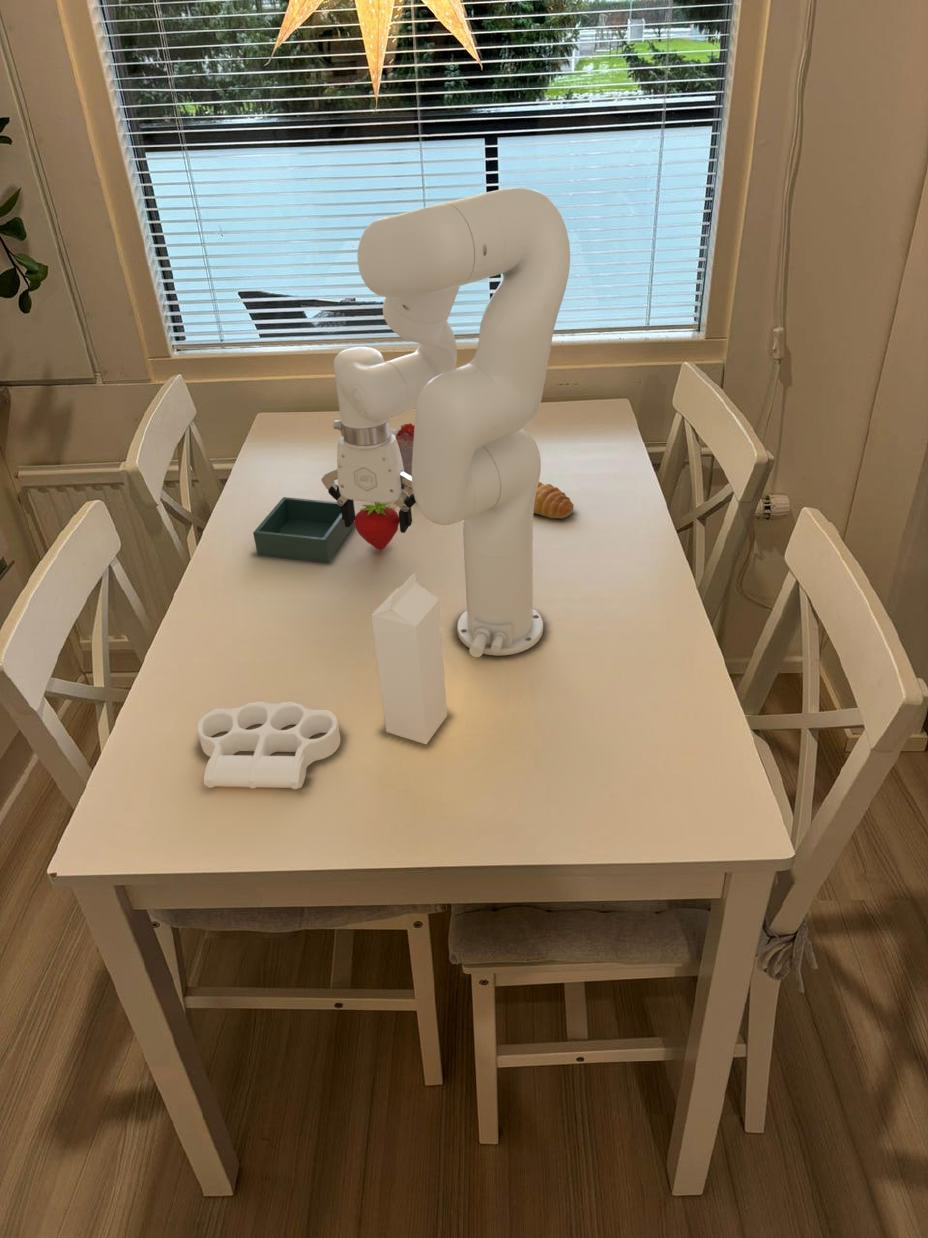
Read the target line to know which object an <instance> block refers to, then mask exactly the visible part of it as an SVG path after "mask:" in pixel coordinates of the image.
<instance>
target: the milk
mask: <svg viewBox="0 0 928 1238" xmlns="http://www.w3.org/2000/svg"><path fill="white" fill-rule="evenodd" d="M371 623H372V624H371V625H372V631H373V638H374V646H375V653H376V661H377V662H376V663H377V669H378V670H377V671H378V678H379V684H380V693H381V700H382V709H383V717H384V718H383V719H384V726H385V731H386V733H387V734H391V735H394V736H397V737H401V738H404V739H406V740H411V741H413V742H416V743H420V744H422V745H428V743H429V742H430V740H431V739H433V736H434V735H435V734H436V732H437V731H438V730H439V729H440V727H441V726H442V725H443V723H444V721H445V720H446V719H447V717H448V708H447V707H448V705H447V694H446V692H447V691H446V679H445V666H444V665H445V664H444V653H443V641H442V640H443V639H442V627H441V612H440V600H439V598H438V597H436V595H434V594H432V592H430V591H429V590H427V589H426V588H424V587H423V586H422V585H420V584H419V583H418V582H417V574H416V573H415V572H413V573H412V574H411V575H410V576H409V577H408V579H407V580H406V581H405V582H404V583H402V585H401V586H400V587H397V588H395V589H394V591H392V592H391V593H390V594H389V596H387V598H386V599H385V600H384V601H383V602H382V603H381V604H379V606H378V607H377V608H376V610H374V612H373V613H372V614H371Z"/></svg>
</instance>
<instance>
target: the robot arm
mask: <svg viewBox="0 0 928 1238" xmlns="http://www.w3.org/2000/svg"><path fill="white" fill-rule="evenodd" d="M358 241H359V242H358V247H357V254H356V256H357V257H356V258H357V265H358V266H357V267H358V271H359V274H360V277H361V279H362V281H363V283H364V284H365V287H367V288H368V290H369V291H371V292H372V293H373V294H375V295H377V296H379V297H383V298H384V300H383V304H382V315H383V318H384V321H385V323H386V324H387V326H388V327H389V328H390V330H392V331H393V333H395V334H396V335H397V336H399V337H400V338H402V339H403V340H406V341H409V342H413V343H417V344H418V346H417V348H416V350H415V351H414V352H412V353H409V354H405V355H403V356H400V357H396V358H394V359H390V360H387V361H385V359H384V356H383V354H382V353H381V352H380V351H379V350H377V349H376V348H373V347H369V346H368V347H367V346H355V347H350V348H346V349H343V350H341V351H339V352H338V353H337V354H336V355H335V357H334V360H333V372H334V380H335V387H336V394H337V402H338V409H339V410H338V411H339V417H340V419H339V420H334V421H333V430H338V431H340V434H341V436H340V437H339V438H338V439H337V450H336V451H337V453H336V469H334V470H332V471H330V472H328V473H325V474H324V475H323V476H322V478H321V482H322V484H323V485H324V487H325V489H327V492H328V494H329V495H330V496H331V497H332V498H333V499H334V500H335V501H336V502H337V504H338V505H340V506H341V513H342V519H343V520H344V522H345V527H350V526H351V525H352V523H353V522H354V521H355V516H356V511H355V503H354V501H359V502H368V503H369V502H370V503H375V502H380V503H389V504H394V503H395V505H397V506H398V508H399V510H398V516H399V532H401V533H402V534H405V533H406V532H407V530H408V528H409V527H411V526H412V524H413V514H412V507H413V506H414V505H415V504H416V506H417V507H418V509H419V511H420V512H421V514H422V515H423V517H425V518H426V519H427V520H428V521H430V522H431V523H433V524H436V525H440V526H449V525H454V524H458V523H460V522H463V528H462V536H463V537H462V539H463V540H462V541H463V558H464V561H463V562H464V574H465V575H464V579H465V595H466V597H465V599H466V610H465V611H464V612H463V613H462V614H461V615H460V616H459V618H458V620H457V625H456V630H457V635H458V638H459V640H460V641H461V643H462V644H463V645H465V646H466V647H467V648H468V649H469V650H468V651H469V654H470V656H472V657H474V658H481V657H482V656H483V655H486V656H487V655H488V656H510V655H511V656H512V655H515V654H519V653H522V652H525V651H527V650H529V649H530V648H532V647H534V646H535V645H536V644H537V643H538V642H539V641H540V639H541V638H542V636H543V632H544V620H543V618H542V616H541V614H540V613H539V611H537V610H536V609H535V608H534V605H533V603H534V601H533V600H534V599H533V598H534V597H533V596H534V595H533V594H534V593H533V589H534V588H533V587H534V586H533V581H534V580H533V579H534V576H533V573H534V572H533V571H534V570H533V569H534V567H533V566H534V565H533V562H534V561H533V558H534V557H533V555H534V554H533V551H534V549H533V548H534V547H533V546H534V544H533V540H534V513H533V512H534V502H535V497H536V492H537V488H538V483H539V482H540V479H541V478H540V477H541V470H542V464H541V463H542V461H541V459H542V458H541V453H540V450H539V447H538V445H537V443H536V441H535V439H534V438H533V437H532V435H531V434H530V433H529V432H527V431H526V429H525V428H526V427H528V426H529V425H530V424H531V425H532V423H533V422H534V421H535V419H536V417H537V416H538V414H539V411H540V409H541V404H542V400H543V394H544V389H545V382H546V377H547V371H548V367H549V360H550V355H551V351H552V350H551V349H552V344H553V336H554V331H555V327H556V323H557V321H558V320H557V319H558V315H559V313H560V309H561V305H562V302H563V299H564V296H565V293H566V288H567V285H568V280H569V274H570V266H571V248H570V247H571V245H570V240H569V234H568V230H567V228H566V225H565V221H564V219H563V216H562V214H561V213H560V211H559V209H558V208H557V206H556V204H555V203H554V202H553V201H552V199H550V198H549V197H548V196H547V195H546V194H544V193H542V192H541V191H538V190H536V189H532V188H527V187H526V188H524V187H509V188H502V189H496V190H492V191H487V192H482V193H479V194H475V195H472V196H468V197H463V198H459V199H454V200H450V201H446V202H442V203H437V204H432V205H429V206H426V207H421V208H418V209H414V210H411V211H407V212H403V213H398V214H395V215H394V214H393V215H389V216H385V217H381V218H378V219H375V220H374V221H372V222H371V223H369V225H367V227H366V228H365V229H364V231H363V232H362V234H361V236H360V239H359V240H358ZM498 275H502V279H501V281H500V282H499V284H498V286H497V288H496V289H495V291H494V292H493V294H492V296H491V297H490V299H489V301H488V303H487V305H486V306H485V308H484V309H485V310H484V311H483V314H482V317H481V321H480V324H479V333H478V341H477V348H476V352H475V354H474V357H473V358H472V359H471V360H470V361H469V362H468V363H465V364H464V365H462V366H459V367H456V366H457V361H458V348H457V341H456V337H455V333H454V331H453V329H452V327H451V325H450V323H449V322H448V319H449V316H450V314H451V311H452V309H453V306H454V303H455V300H456V298H457V295H458V293H459V290H460V288H461V286H465V285H468V284H471V283H475V282H479V281H482V280H485V279H489V278H492V277H495V276H498ZM414 409H415V415H414V425H415V427H414V442H413V456H412V476H410V475H408V474H406V473H405V472H404V467H403V462H402V457H401V453H400V449H399V446H398V443H397V440H396V437H395V435H393V434H391V429H392V427H391V418H393V417H396V416H399V415H402V414H403V413H405V412H409V411H412V410H414ZM336 480H337V484H336ZM406 487H408V488H409V489H412V493H411V494H409V493H408V492H407V491H406V490H405V489H406Z"/></svg>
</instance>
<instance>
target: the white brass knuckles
mask: <svg viewBox="0 0 928 1238" xmlns="http://www.w3.org/2000/svg"><path fill="white" fill-rule="evenodd" d="M255 725H261V726H259V727H257V728H253V729H248V728H250V727H251V726H255ZM292 725H295V726H293V727H291V728H288V729H284V728H285V727H288V726H292ZM196 731H197V736H198V739H199V742H200V746H201V749H202V752H203V753H204V754H205V755H206V756H207V757H209V759H208V761H207V764H206V766H205V770H204V774H203V784H204V786H205V787H207V788H214V787H224V788H225V787H226V788H227V787H228V788H229V787H230V788H250V789H256V788H270V789H271V788H273V789H275V788H278V789H292V790H298V789H301V788H302V787H303V786H304V783H305V780H306V775H307V769H308V767H309V766H310V765H312V763H314V762H316V761H322V760H325V759H327V758H329V757H331V756H332V755H333V754H334V753H336V752H337V750H338V749H339V748H340V745H341V734H340V727H339V721H338V718H337V717H336V715H335V714H334V712H332V711H330V710H328V709H326V708H325V709H317V710H316V709H309V708H307V707H305V706H303V705H302V703H298V702H292V701H284V702H280V703H270V702H266V701H263V700H259V701H253V702H248V703H246V704H244V705H242V706H239V707H235V708H221V707H219V708H215V709H213V710H211V711H209V712H207V713H206V714H204V715H203V716H202V717H201V718H200V720H199V721H198V723H197V725H196ZM224 732H227V733H225V734H224V735H220V736H215V735H217V734H219V733H224ZM319 734H324V735H322V736H320V737H318V738H311V737H312V736H315V735H319ZM214 736H215V737H214ZM238 752H254V753H253V754H252V755H245V754H243V755H240V754H239V755H237V753H238ZM274 753H295V755H272V754H274ZM235 754H236V755H235Z"/></svg>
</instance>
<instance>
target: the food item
mask: <svg viewBox="0 0 928 1238" xmlns="http://www.w3.org/2000/svg"><path fill="white" fill-rule="evenodd" d="M414 427H415V424H413V423H411V422H409V423H405V424H402V425H400V429H393V428H391V434H393V435H395V437H396V440H397V443H398V446H399V449H400V453H401V457H402V462H403V467H404V472H405V473H406V474H408V475H410V476H412V456H413V442H414Z"/></svg>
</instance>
